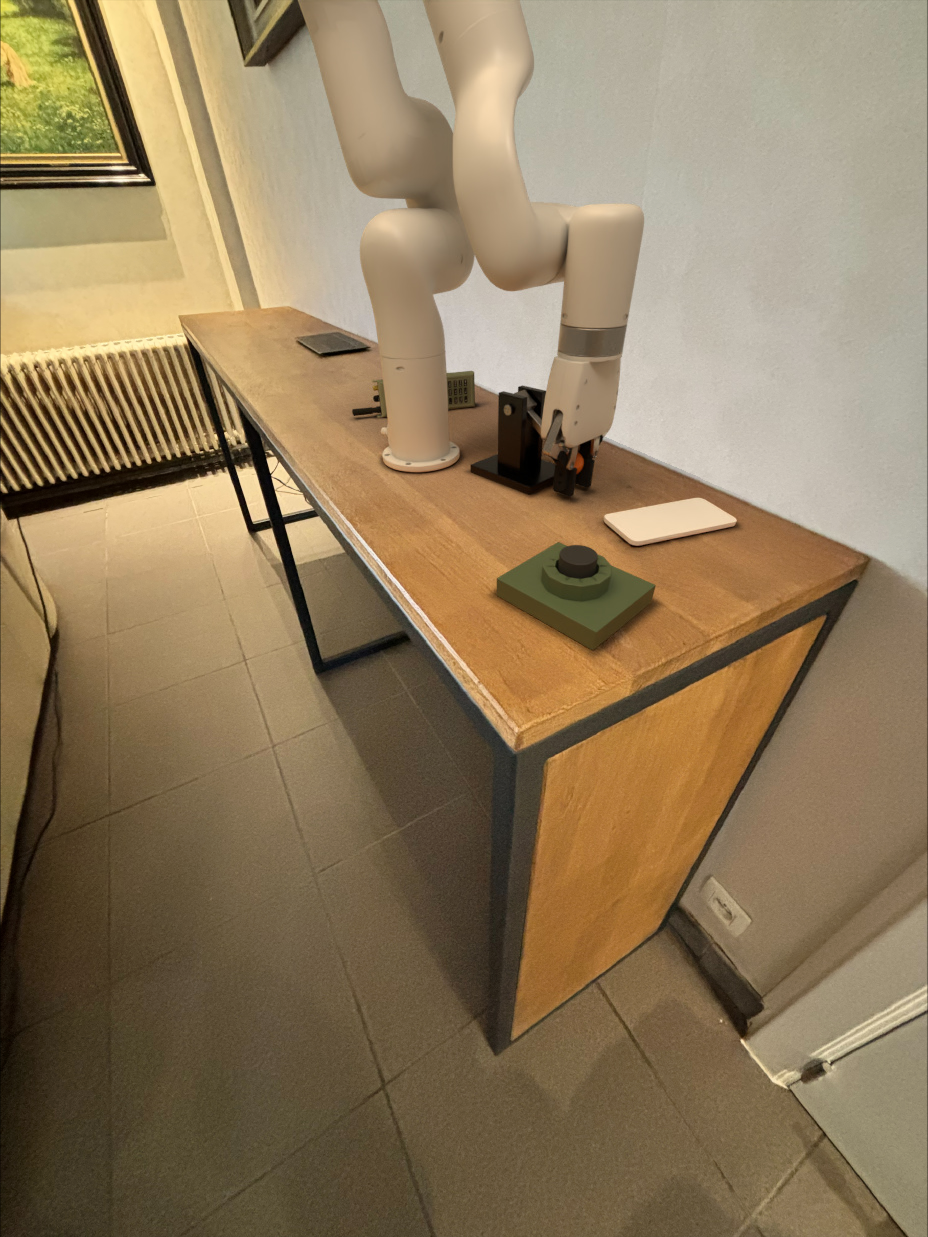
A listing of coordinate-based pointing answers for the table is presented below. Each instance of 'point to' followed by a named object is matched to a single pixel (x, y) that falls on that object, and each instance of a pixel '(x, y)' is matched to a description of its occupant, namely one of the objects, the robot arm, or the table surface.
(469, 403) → the handheld radio
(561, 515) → the table surface
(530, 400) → the switch lever
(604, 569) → the button box
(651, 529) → the smartphone
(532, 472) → the switch bracket
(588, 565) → the push button
